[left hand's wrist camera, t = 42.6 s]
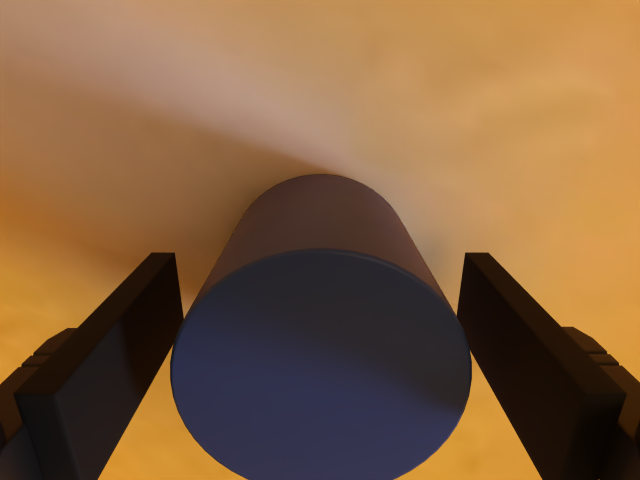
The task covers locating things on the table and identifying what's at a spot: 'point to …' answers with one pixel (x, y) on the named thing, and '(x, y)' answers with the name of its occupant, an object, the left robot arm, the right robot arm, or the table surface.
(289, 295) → the cylinder
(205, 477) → the table surface
